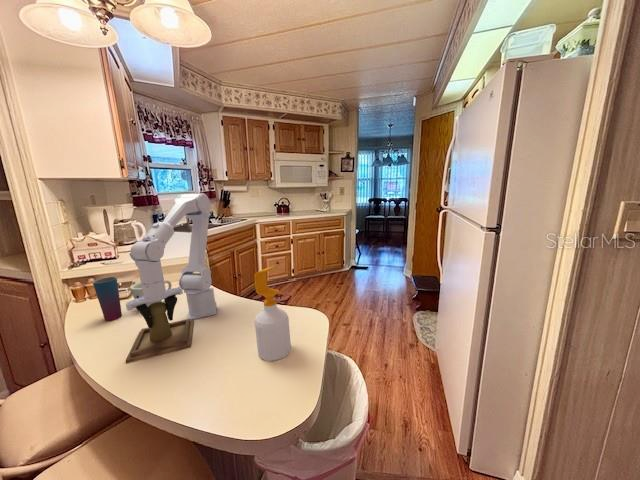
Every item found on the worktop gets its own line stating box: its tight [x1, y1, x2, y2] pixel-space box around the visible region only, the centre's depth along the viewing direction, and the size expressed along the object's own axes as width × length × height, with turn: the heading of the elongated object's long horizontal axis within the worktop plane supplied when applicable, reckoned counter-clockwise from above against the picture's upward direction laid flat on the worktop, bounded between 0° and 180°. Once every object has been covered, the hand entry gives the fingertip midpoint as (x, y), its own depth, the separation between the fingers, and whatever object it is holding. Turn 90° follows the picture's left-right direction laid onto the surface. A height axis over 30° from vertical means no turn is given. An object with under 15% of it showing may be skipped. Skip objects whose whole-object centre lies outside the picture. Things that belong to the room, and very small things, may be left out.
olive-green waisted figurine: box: [148, 301, 172, 342], centre depth 81 cm, size 6×6×11 cm
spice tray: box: [125, 318, 195, 364], centre depth 82 cm, size 16×16×2 cm
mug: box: [129, 279, 172, 307], centre depth 106 cm, size 10×15×10 cm
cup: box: [92, 275, 123, 322], centre depth 97 cm, size 7×7×15 cm
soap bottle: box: [253, 265, 292, 362], centre depth 71 cm, size 9×9×25 cm
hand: (160, 323), depth 81 cm, fingers open, 5 cm apart
